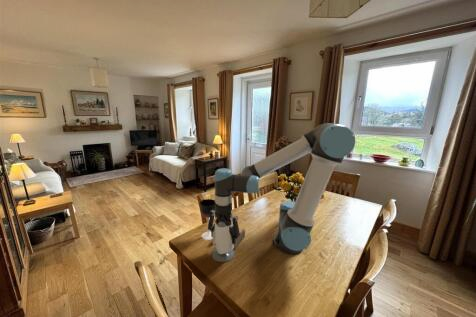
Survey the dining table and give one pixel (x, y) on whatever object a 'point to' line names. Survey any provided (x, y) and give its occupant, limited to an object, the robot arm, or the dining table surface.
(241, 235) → the rail slot
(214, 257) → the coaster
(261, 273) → the dining table surface
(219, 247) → the cup
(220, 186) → the robot arm
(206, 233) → the wineglass
